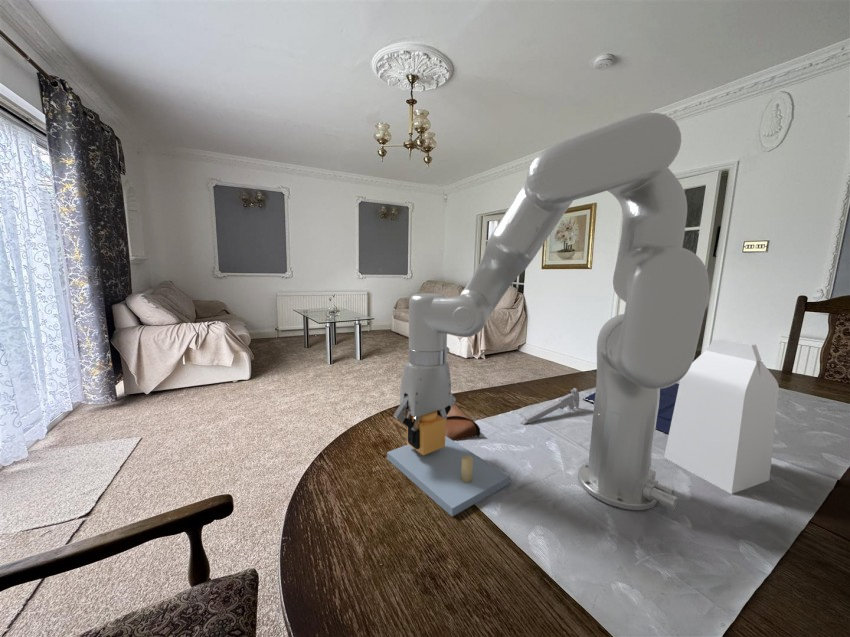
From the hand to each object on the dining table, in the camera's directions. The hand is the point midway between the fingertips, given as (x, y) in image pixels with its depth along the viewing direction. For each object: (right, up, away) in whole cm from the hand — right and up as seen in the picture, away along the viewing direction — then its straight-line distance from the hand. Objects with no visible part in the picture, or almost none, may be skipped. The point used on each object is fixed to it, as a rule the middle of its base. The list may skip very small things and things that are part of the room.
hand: (426, 440), depth 70 cm
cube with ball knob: (0, -1, 0) cm, 1 cm away
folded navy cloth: (+65, 0, +28) cm, 71 cm away
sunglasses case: (+5, -2, +16) cm, 17 cm away
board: (+4, -4, -4) cm, 7 cm away
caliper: (+33, -1, +21) cm, 39 cm away
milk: (+57, -5, -2) cm, 58 cm away
